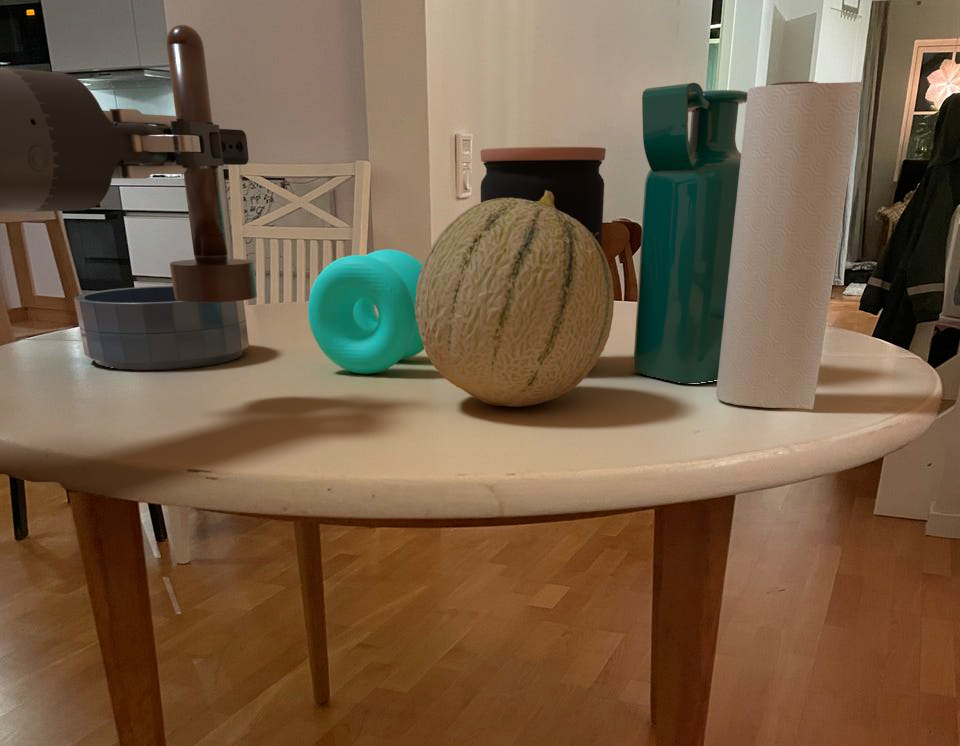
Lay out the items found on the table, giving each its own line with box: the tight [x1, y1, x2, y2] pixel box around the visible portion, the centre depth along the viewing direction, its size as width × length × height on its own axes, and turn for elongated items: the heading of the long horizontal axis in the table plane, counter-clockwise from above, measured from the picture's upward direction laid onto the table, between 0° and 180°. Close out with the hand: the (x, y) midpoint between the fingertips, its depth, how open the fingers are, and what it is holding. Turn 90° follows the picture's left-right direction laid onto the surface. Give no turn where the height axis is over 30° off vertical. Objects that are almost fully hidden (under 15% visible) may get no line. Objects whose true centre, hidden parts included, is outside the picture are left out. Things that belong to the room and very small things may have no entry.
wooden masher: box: [166, 24, 258, 303], centre depth 65 cm, size 6×6×17 cm
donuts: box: [307, 249, 425, 375], centre depth 84 cm, size 10×10×10 cm
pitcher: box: [632, 82, 748, 383], centre depth 77 cm, size 10×8×22 cm
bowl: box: [73, 285, 250, 371], centre depth 91 cm, size 16×16×6 cm
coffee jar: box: [480, 146, 607, 248], centre depth 82 cm, size 11×11×18 cm
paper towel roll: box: [715, 81, 864, 410], centre depth 67 cm, size 7×6×21 cm
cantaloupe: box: [415, 190, 615, 408], centre depth 68 cm, size 15×15×15 cm
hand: (228, 147), depth 67 cm, fingers closed on wooden masher, 2 cm apart
